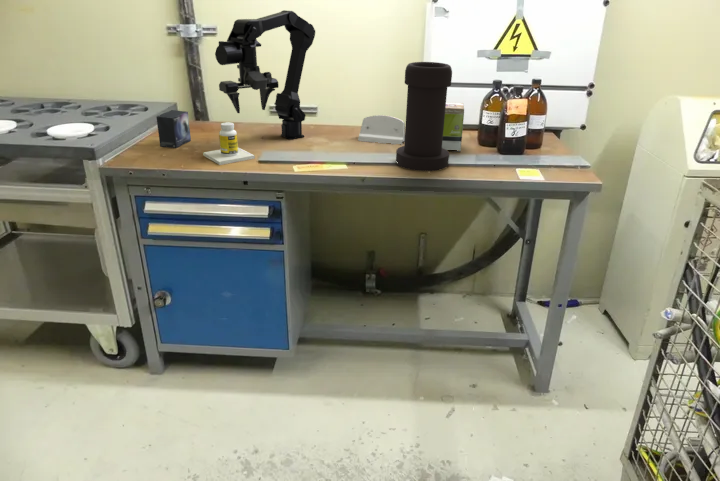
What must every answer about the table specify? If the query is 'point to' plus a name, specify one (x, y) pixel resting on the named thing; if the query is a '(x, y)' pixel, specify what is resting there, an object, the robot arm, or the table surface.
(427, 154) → the pipe
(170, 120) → the small box
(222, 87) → the robot arm
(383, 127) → the grey rounded upright plate
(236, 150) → the supplement bottle
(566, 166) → the table surface
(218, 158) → the pad
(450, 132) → the tea box
